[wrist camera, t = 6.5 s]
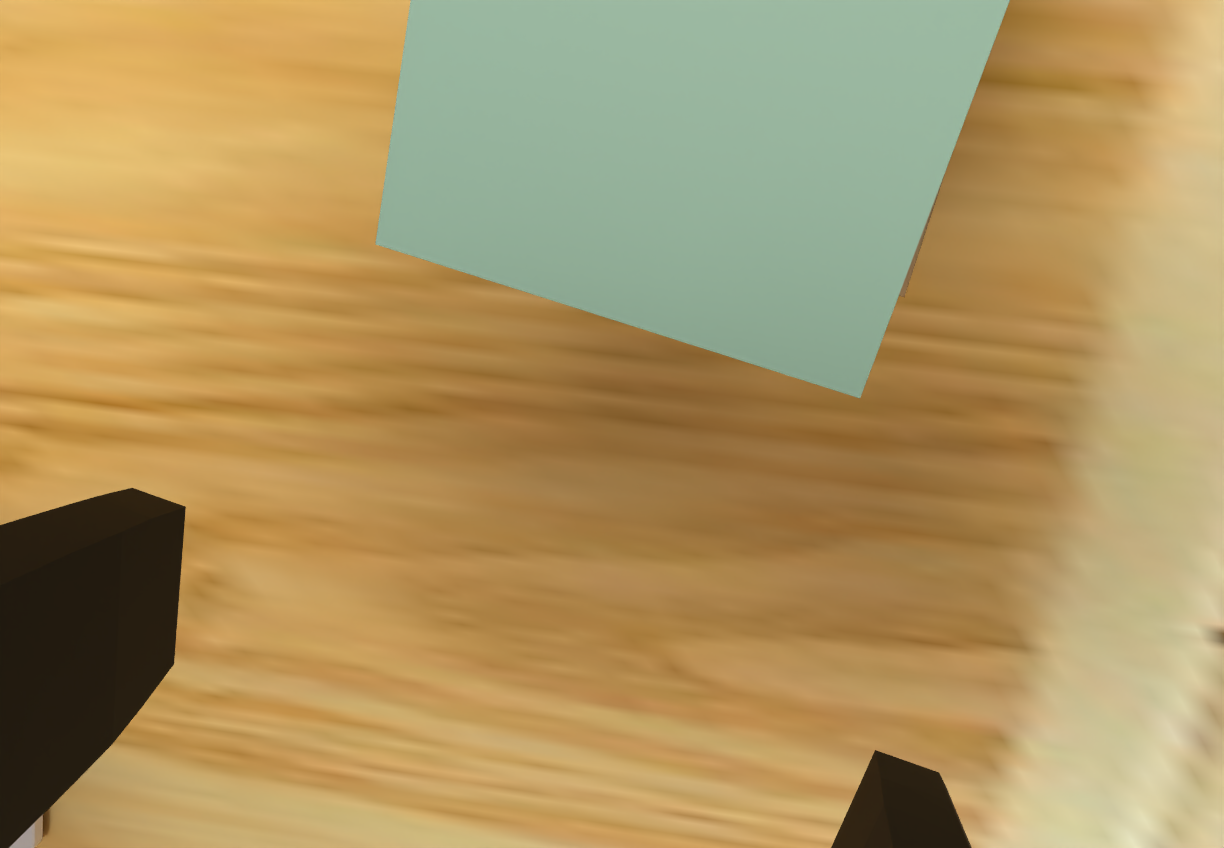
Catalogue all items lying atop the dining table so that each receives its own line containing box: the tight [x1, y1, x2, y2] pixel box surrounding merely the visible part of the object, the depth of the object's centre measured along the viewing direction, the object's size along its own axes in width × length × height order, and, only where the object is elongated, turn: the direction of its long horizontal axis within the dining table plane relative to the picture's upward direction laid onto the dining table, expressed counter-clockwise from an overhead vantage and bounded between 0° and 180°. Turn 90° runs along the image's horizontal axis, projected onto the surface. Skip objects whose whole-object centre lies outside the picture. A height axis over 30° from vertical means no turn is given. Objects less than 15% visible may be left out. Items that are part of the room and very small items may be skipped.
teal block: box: [376, 0, 1010, 398], centre depth 10 cm, size 4×4×4 cm
